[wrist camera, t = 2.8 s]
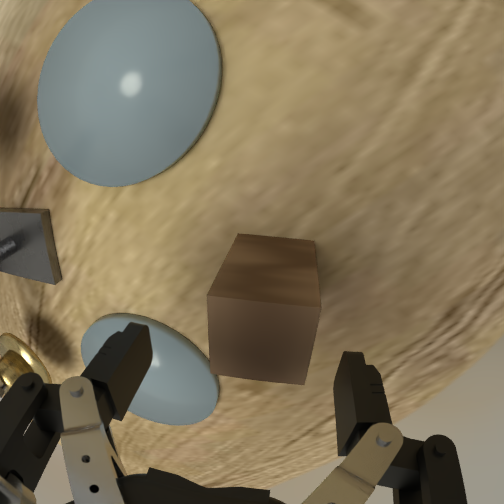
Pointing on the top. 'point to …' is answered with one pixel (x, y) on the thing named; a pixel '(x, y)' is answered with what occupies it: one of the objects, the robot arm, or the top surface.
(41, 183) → the top surface
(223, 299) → the walnut block
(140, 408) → the dish
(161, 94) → the pale blue flat disc
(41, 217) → the balance
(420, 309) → the top surface
